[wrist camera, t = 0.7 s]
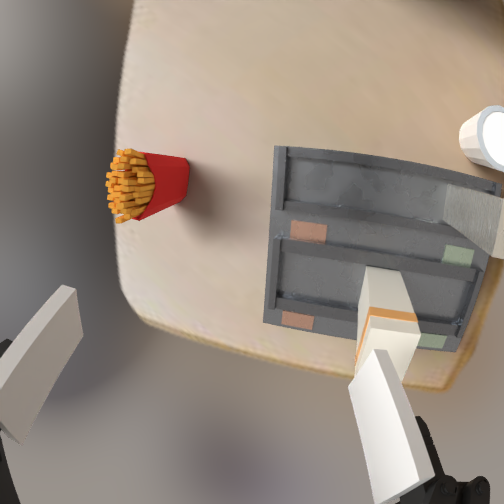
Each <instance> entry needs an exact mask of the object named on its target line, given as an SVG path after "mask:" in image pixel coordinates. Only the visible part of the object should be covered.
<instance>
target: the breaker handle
mask: <svg viewBox="0 0 504 504" xmlns="http://www.w3.org/2000/svg"><path fill="white" fill-rule="evenodd" d="M420 336H421V333H420V329H419V326H418V320H417V317H416V314H415V313H414V310H413V307H412V304H411V301H410V298H409V295H408V292H407V289H406V287H405V284H404V281H403V278H402V276H401V273H400V271H396V270H390V269H383V268H377V267H371V266H366V270H365V276H364V281H363V285H362V290H361V295H360V299H359V304H358V330H357V350H356V356H355V376H356V375H357V373H358V372H359V370H360V369H361V367H362V366H363V364H364V363H365V361H366V360H367V358H368V357H369V355H370V354H371V352H372V350H373V349H380V350H387V351H388V354H389V356H390V358H391V360H392V363H393V365H394V367H395V370H396V372H397V374H398V376H399V379H400V381H401V382H402V380H403V377H404V375H405V373H406V371H407V369H408V366H409V364H410V362H411V359H412V357H413V354H414V352H415V349H416V347H417V344H418V342H419V339H420Z"/></svg>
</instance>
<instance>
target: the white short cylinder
mask: <svg viewBox="0 0 504 504" xmlns="http://www.w3.org/2000/svg"><path fill="white" fill-rule="evenodd" d="M459 141H460V145H461V149H462V151H463V152H464V154H465V156H466V157H467V158H468V159H469V160H471V161H472V162H474V163H476V164H479V165H483V166H486V167H489V168H493V169H496V170H499V171H502V172H504V107H501V106H499V105H495V106H488V107H487V108H485V109H484V110H482V111H481V112H479V113H478V114H476V115H475V116H473V117H472V118H470V119H469V120H467V121H466V122H465V123H463V125H462V127H461V129H460V133H459Z"/></svg>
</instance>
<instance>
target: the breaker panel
mask: <svg viewBox="0 0 504 504" xmlns="http://www.w3.org/2000/svg"><path fill="white" fill-rule="evenodd" d="M501 188H502V184H499V183H496V182H493V181H489V180H486V179H482V178H479V177H475V176H472V175H468V174H464V173H460V172H456V171H452V170H447V169H443V168H439V167H434V166H429V165H425V164H420V163H415V162H409V161H404V160H398V159H393V158H386V157H380V156H374V155H367V154H359V153H352V152H344V151H335V150H325V149H315V148H303V147H289V146H274V161H273V179H272V196H271V213H270V229H269V244H268V259H267V274H266V288H265V301H264V315H263V323H268V324H272V325H277V326H282V327H287V328H292V329H297V330H302V331H307V332H313V333H318V334H324V335H329V336H335V337H341V338H347V339H353V340H357V330H358V304H359V299H360V295H361V290H362V285H363V281H364V276H365V270H366V266H371V267H377V268H383V269H390V270H396V271H400V273H401V276H402V278H403V281H404V284H405V287H406V289H407V292H408V295H409V298H410V301H411V304H412V307H413V310H414V313H415V314H416V317H417V320H418V326H419V329H420V333H421V336H420V339H419V342H418V344H417V347H416V348H419V349H428V350H438V351H448V352H456V350H457V348H458V345H459V343H460V341H461V338H462V336H463V334H464V331H465V329H466V326H467V324H468V321H469V319H470V316H471V313H472V311H473V308H474V305H475V302H476V299H477V296H478V293H479V290H480V287H481V284H482V280H483V277H484V273H485V270H486V266H487V262H488V259H489V255H490V256H492V257H495V258H500V259H504V199H503V198H500V196H501Z"/></svg>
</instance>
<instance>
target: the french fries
mask: <svg viewBox="0 0 504 504" xmlns="http://www.w3.org/2000/svg"><path fill="white" fill-rule="evenodd" d="M117 155H120V156H121V157H120V158H119V157H114V159H113V162H114V163H111V166H110V168H112V169H113V170H125V171H112V172H107V176H106V177H107V178H110V180H109V181H106V185H105V186H107V187H108V192H110V193H111V194H110V195H108V198H107V200H112V201H114V202H111V203H109V208H112V213H114V214H119V213H121V214H124V215H122V216H120V217H118V218H115V219H116V223H123V222H125V221H127V220H130V219H135V220H138V221H140V220H142V219H144V218H146V217H148V216H151V215H153V214H155V213H157V212H159V211H161V210H163V209H166V208H168V207H170V206H172V205H174V204H177V203H179V202H180V201H181V200H182V199H183V198H184V197H185V196H186V193H187V187H188V179H189V169H190V167H189V165H188V163H187V161H186V159H185V158H180V157H174V156H167V155H160V154H152V153H144V152H138V151H135V150H133V149H125V151H123V150H119V149H118V151H117Z"/></svg>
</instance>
